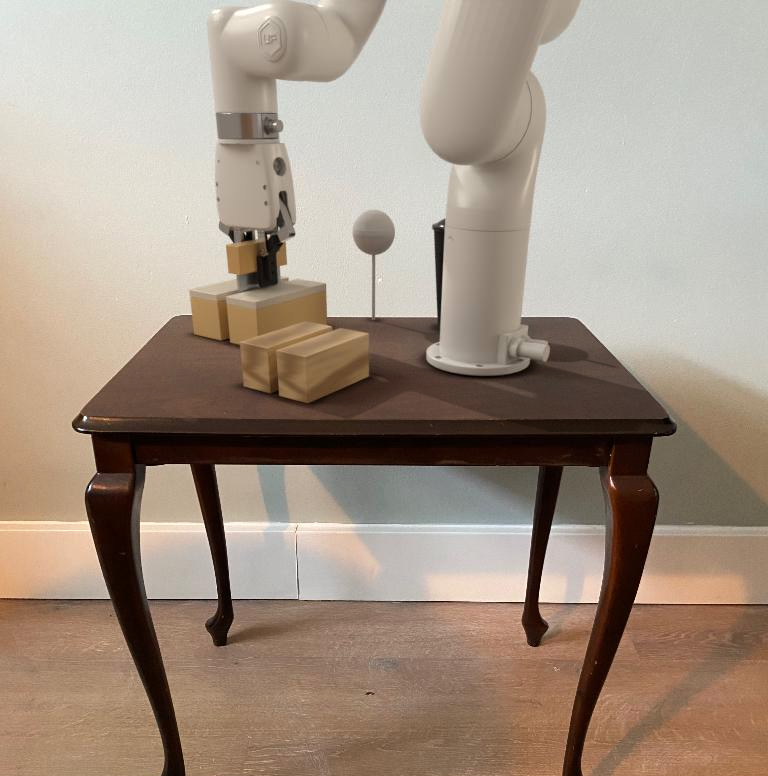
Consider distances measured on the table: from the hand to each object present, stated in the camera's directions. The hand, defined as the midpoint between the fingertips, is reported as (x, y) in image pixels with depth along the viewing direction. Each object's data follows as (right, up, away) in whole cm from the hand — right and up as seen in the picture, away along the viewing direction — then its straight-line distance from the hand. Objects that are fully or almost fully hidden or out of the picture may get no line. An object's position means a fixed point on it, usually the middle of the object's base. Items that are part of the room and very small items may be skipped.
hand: (260, 283), depth 98 cm
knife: (0, -5, +3) cm, 6 cm away
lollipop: (+15, -3, +9) cm, 18 cm away
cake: (0, -6, +3) cm, 6 cm away
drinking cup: (+27, -5, +5) cm, 28 cm away
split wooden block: (+8, -16, -16) cm, 24 cm away
